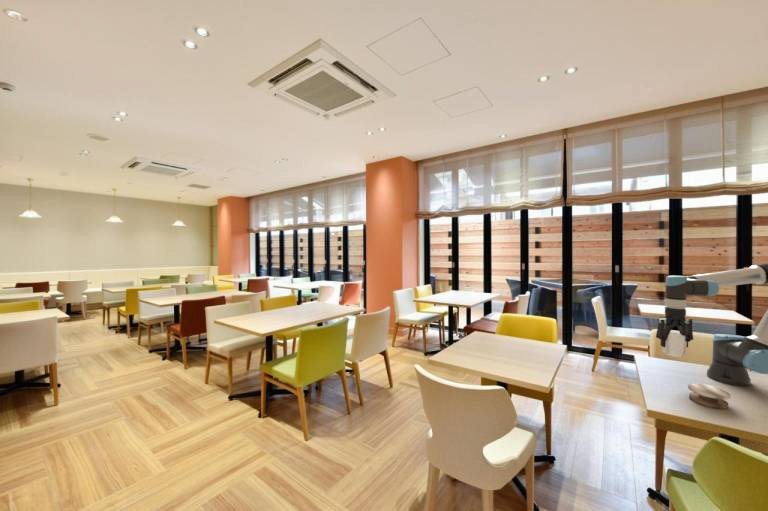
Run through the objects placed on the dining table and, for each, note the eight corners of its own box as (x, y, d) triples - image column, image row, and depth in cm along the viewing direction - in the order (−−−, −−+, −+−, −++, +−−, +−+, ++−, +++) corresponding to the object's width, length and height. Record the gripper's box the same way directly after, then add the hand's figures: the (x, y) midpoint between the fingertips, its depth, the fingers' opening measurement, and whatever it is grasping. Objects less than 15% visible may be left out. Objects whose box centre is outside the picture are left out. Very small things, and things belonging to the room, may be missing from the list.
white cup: (689, 358, 150) (689, 337, 149) (670, 357, 151) (670, 336, 151) (677, 352, 157) (678, 332, 157) (659, 351, 159) (659, 332, 158)
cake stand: (711, 395, 145) (711, 383, 144) (739, 410, 132) (739, 398, 131) (679, 394, 146) (680, 382, 146) (704, 408, 133) (705, 396, 133)
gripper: (692, 306, 156) (690, 351, 157) (646, 305, 158) (645, 350, 159) (705, 309, 148) (703, 356, 149) (658, 308, 151) (656, 355, 152)
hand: (673, 353), depth 154 cm, fingers closed on white cup, 7 cm apart
